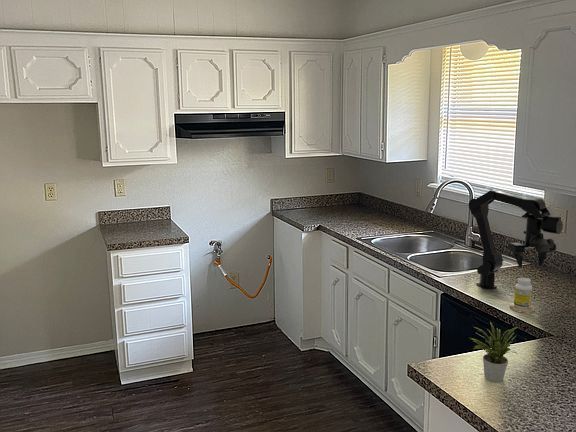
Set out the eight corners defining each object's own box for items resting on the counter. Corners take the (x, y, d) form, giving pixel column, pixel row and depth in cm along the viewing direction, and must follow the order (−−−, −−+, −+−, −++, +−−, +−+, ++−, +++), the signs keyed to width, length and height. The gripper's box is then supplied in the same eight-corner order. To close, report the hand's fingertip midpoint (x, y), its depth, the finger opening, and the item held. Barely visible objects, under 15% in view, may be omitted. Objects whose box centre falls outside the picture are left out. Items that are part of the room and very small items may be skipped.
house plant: (491, 361, 184) (495, 312, 181) (530, 379, 173) (535, 327, 169) (460, 373, 176) (464, 322, 173) (498, 392, 165) (503, 338, 162)
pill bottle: (518, 302, 234) (521, 275, 231) (533, 306, 229) (536, 279, 227) (510, 305, 230) (512, 279, 228) (525, 310, 225) (527, 283, 223)
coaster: (505, 305, 233) (505, 303, 233) (525, 303, 235) (525, 301, 235) (518, 313, 224) (518, 311, 224) (539, 311, 226) (539, 309, 226)
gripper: (525, 235, 227) (521, 274, 230) (567, 233, 231) (563, 271, 234) (508, 229, 237) (505, 266, 240) (548, 226, 241) (545, 263, 244)
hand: (530, 266), depth 239 cm, fingers open, 9 cm apart
